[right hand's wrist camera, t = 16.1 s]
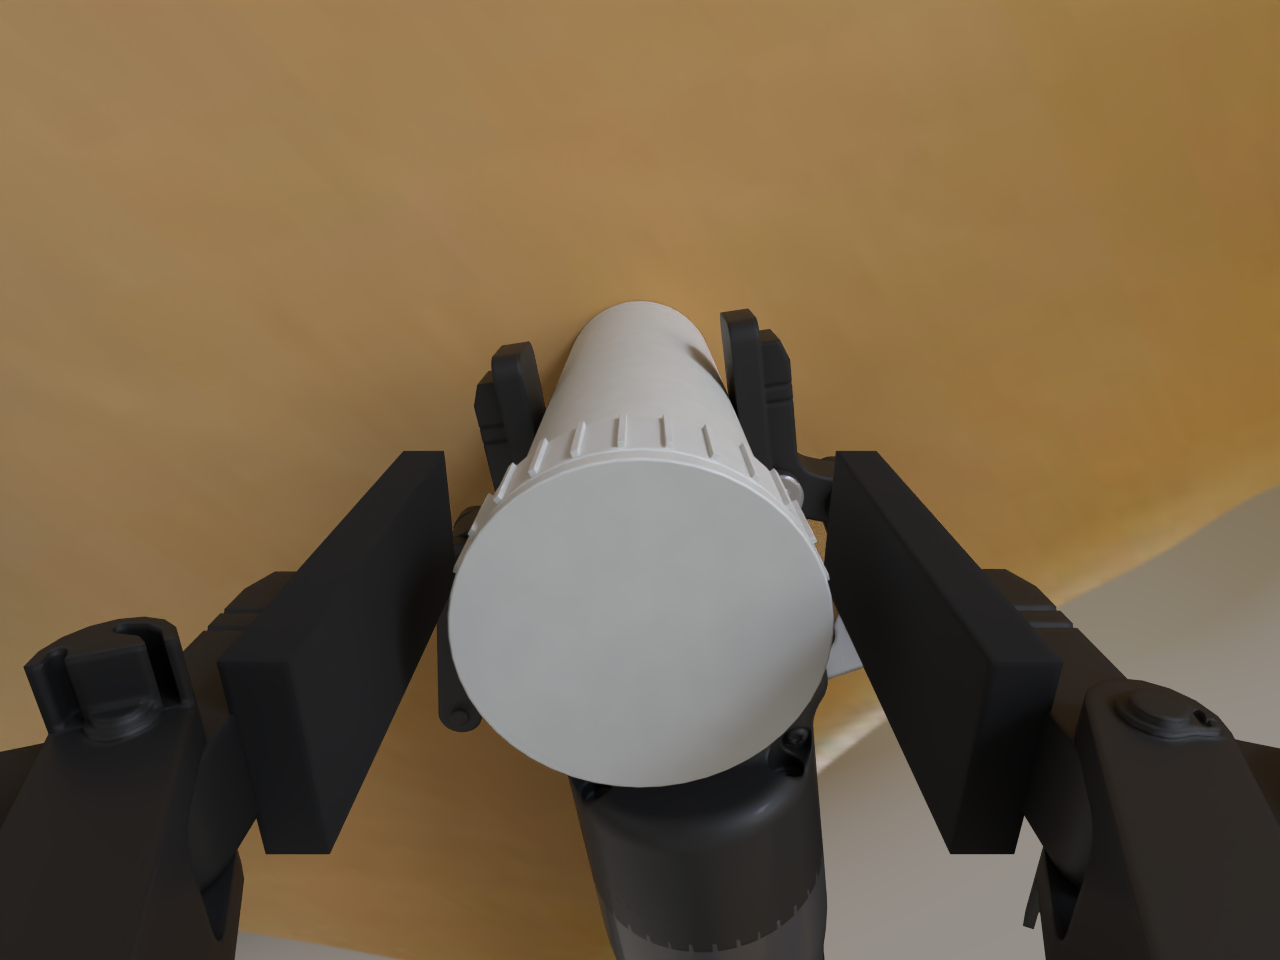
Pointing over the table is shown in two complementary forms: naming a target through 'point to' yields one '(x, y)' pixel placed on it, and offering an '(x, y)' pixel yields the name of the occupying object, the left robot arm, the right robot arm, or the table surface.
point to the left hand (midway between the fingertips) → (622, 335)
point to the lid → (640, 604)
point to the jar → (640, 374)
